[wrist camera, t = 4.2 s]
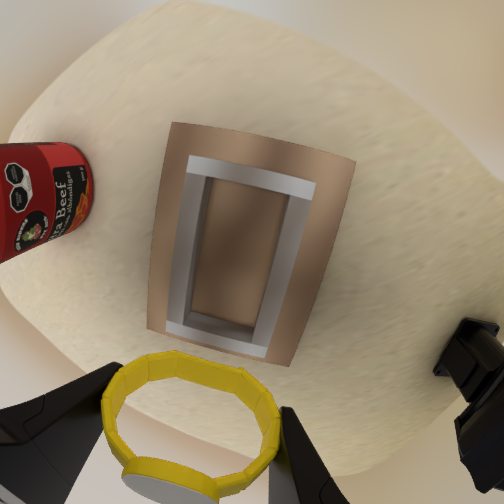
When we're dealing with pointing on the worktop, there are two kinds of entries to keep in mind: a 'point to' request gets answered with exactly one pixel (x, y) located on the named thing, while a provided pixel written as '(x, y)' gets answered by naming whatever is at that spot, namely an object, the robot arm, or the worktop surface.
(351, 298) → the worktop surface
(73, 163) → the canned food
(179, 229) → the track board
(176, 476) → the watch
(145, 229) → the worktop surface
